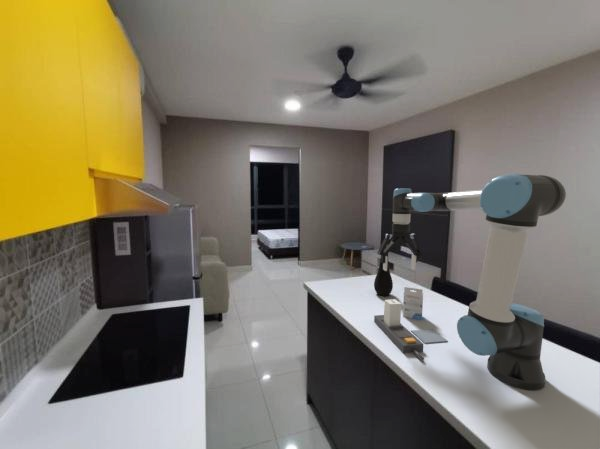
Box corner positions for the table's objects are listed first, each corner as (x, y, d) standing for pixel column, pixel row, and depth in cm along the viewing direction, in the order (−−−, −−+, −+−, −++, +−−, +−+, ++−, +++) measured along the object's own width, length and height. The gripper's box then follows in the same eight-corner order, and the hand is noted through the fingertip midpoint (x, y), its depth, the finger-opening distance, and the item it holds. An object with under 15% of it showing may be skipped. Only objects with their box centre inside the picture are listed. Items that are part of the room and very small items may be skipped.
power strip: (432, 360, 100) (433, 350, 99) (412, 362, 98) (412, 352, 98) (390, 320, 131) (390, 312, 131) (374, 321, 130) (374, 313, 129)
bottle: (369, 292, 168) (371, 243, 165) (383, 290, 172) (385, 242, 169) (382, 298, 158) (384, 246, 155) (396, 296, 163) (398, 245, 160)
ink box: (422, 316, 136) (424, 286, 135) (421, 320, 132) (423, 289, 130) (403, 312, 140) (405, 283, 139) (402, 316, 136) (403, 286, 134)
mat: (447, 341, 113) (447, 340, 113) (424, 343, 111) (424, 342, 111) (432, 329, 123) (432, 328, 123) (411, 331, 121) (411, 330, 121)
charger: (400, 326, 119) (401, 302, 118) (389, 327, 119) (390, 303, 117) (394, 320, 124) (395, 298, 123) (383, 321, 123) (384, 299, 122)
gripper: (422, 222, 131) (420, 266, 133) (371, 222, 127) (369, 268, 130) (432, 223, 123) (429, 271, 125) (377, 224, 120) (376, 272, 122)
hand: (399, 269), depth 127 cm, fingers open, 13 cm apart
